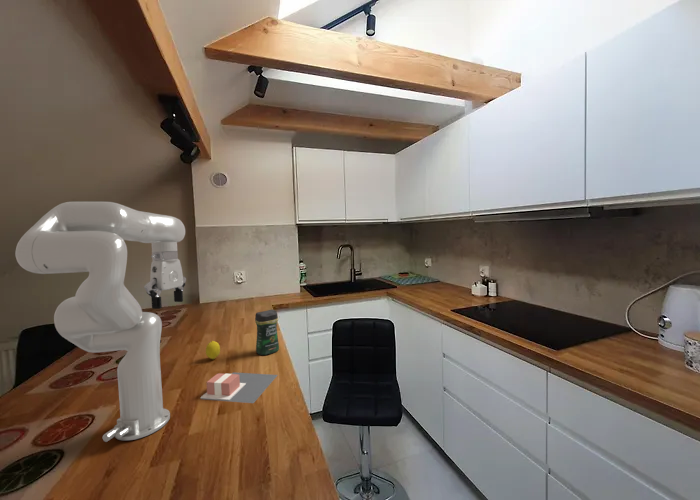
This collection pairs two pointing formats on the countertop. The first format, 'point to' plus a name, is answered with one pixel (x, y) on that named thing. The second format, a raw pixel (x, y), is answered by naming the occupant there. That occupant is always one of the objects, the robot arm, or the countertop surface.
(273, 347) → the coffee jar
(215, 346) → the lemon
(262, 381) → the mat
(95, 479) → the countertop surface
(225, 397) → the pad
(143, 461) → the countertop surface
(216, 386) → the card box
